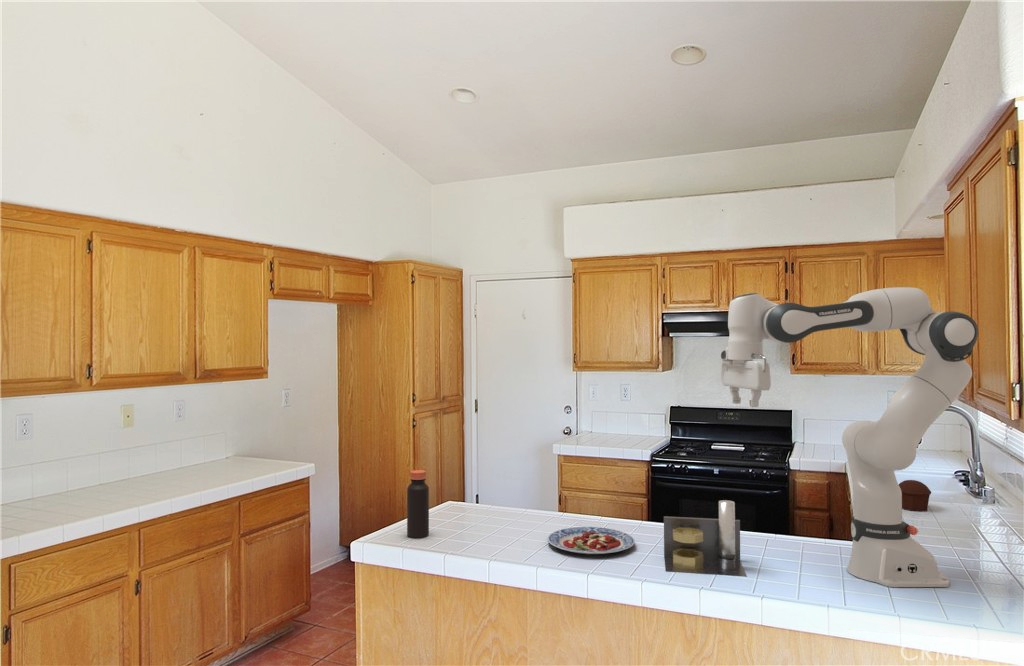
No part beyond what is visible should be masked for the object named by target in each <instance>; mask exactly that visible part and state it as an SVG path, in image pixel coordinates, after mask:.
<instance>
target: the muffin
mask: <svg viewBox="0 0 1024 666" xmlns="http://www.w3.org/2000/svg"><path fill="white" fill-rule="evenodd" d="M898 485H899V487H900V489H901V492H902V510H904V511H907V512H908V511H909V512H920V513H923V512H928V508H929V501H930V500H929V499H930V495H931V494H932V491H931V490H930V488H929V487H928V486H927V485H926V484H925V483H923V482H922V481H919V480H915V479H905V480H903V481H901V482H900V483H898Z"/></svg>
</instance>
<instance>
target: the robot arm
mask: <svg viewBox="0 0 1024 666" xmlns="http://www.w3.org/2000/svg"><path fill="white" fill-rule="evenodd" d="M727 318H728V319H727V328H728V332H729V337H728V340H727V347H725V349H723V350H722V351H720V352H719V359H720V360H722V361H721V362H720V377H721V383H722V385H723V386H724V387H729V391H730V395H731V403H732V404H737V405H739V404H741V401H742V400H741V399H742V398H741V396H740V394H739V391H740V389H745V390H746V389H747V390H751V391H750V392H751V393H750V394H751V398H750V400H749V407H751V408H758V407H759V405H760V403H759V401H760V399H761V396H762V391H769V390H770V389H771V385H772V384H771V382H772V380H771V379H772V378H771V371H770V365H769V362H767V358H766V357H765V355H764V354H763V353H764V352H763V349H764V348H763V347H764V346H763V342H764V341H763V340H769V341H772V342H776V343H777V342H780V343H781V342H782V343H786V344H788V343H796V342H799V341H801V340H803V339H804V338H806V337H808V336H809V335H812V334H813V333H817V332H822V331H829V330H835V329H844V328H846V329H853V330H854V331H855V332H856V331H857V332H869V333H870V332H872V333H873V332H881V331H882V332H885V331H890V330H898V329H899V331H900V333H901V334H902V338H903V340H904V342H905V345H906V347H908V349H910V350H911V351H913V353H916V354H919V355H923V356H924V359H923V362H922V364H921V366H919V367H920V368H918V369H917V370H916V371H915V372H914V373H913V374H911V376H910V377H909V378H908V379H907V380H906V381H905V382H904V383H903V384H902V385H901V386H900V387H899V388H898V389H897V390H896V391H895V392H894V393H893V394H892V395H891V396H890V398H889V400H888V406H887V407H886V409H885V410H884V413H883V414H882V415H881V417H880V418H879V420H877V421H876V422H875V421H871V420H860V421H855V422H852V423H849V425H847V426H846V427H845V429H844V430H843V432H842V436H841V441H842V442H841V443H842V445H843V447H844V450H845V454H846V457H847V463H848V468H849V473H850V478H851V482H852V484H851V485H852V493H853V494H852V498H853V499H852V500H853V501H852V502H853V504H852V505H853V506H852V507H853V515H852V516H851V523H850V530H851V531H850V533H851V537H852V544H851V545H852V546H851V553H850V559H849V562H848V565H847V568H846V570H847V572H848V573H850V574H851V575H853V576H854V577H857V578H859V579H862V580H865V581H870V582H872V583H873V582H874V583H877V584H880V585H882V586H885V587H890V588H948V587H949V586H950V580H949V578H948V577H947V576H946V575H945V574H944V573H943V572H942V571H939V567H938V563H937V560H936V558H935V556H934V555H933V554H932V552H930V551H929V550H928V549H927V548H926V547H924V546H923V545H921V544H920V543H919V542H917V540H915V539H914V538H913V537H911V536H916V535H917V534H919V533H918V532H919V528H918V529H917V527H916V526H914V525H910V524H909V523H907V522H905V521H903V509H902V492H901V489H900V487H899V483H898V480H897V478H896V473H895V471H902V470H905V469H907V468H909V467H910V466H912V464H913V463H914V462H915V459H916V457H917V449H918V446H919V444H920V442H921V440H922V438H923V437H924V436H925V434H926V432H927V431H928V429H929V428H930V427H931V425H932V424H933V423H934V422H935V421H936V420H937V419H938V418H939V417H940V416H941V415H942V414H943V413H944V412H945V411H946V410H947V409H948V408H949V407H950V406H951V405H952V404H953V403H954V402H955V401H956V400H957V398H958V397H960V395H961V393H963V391H964V389H965V388H966V387H967V386H968V384H969V382H970V380H971V379H972V377H973V370H972V367H971V365H970V364H969V363H968V362H967V359H969V358H970V357H971V356H972V353H973V348H974V346H975V345H976V342H977V341H978V337H979V327H978V325H977V323H976V321H975V319H973V318H972V317H971V316H970V315H968V314H966V313H964V312H959V311H955V310H954V311H953V310H950V311H939V312H937V311H935V310H934V309H933V308H932V306H931V301H930V298H929V296H928V294H927V293H926V292H925V291H924V290H922V289H921V288H918V287H910V286H909V287H907V286H905V287H904V286H903V287H902V286H901V287H900V286H897V287H896V286H895V287H885V288H884V287H883V288H876V289H871V290H866V291H863V292H860V293H855V294H854V295H851V296H850V297H848V300H845V301H844V302H839V303H833V304H826V305H825V304H823V305H816V306H806V305H802V304H799V303H795V302H784V303H780V304H779V303H775V302H774V301H771V300H769V299H767V298H766V297H764V296H762V295H761V294H760V293H758V292H752V293H751V292H750V293H745V294H741V295H736V296H735V297H733V298H732V299H731V300H730V302H729V306H728V315H727Z"/></svg>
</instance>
